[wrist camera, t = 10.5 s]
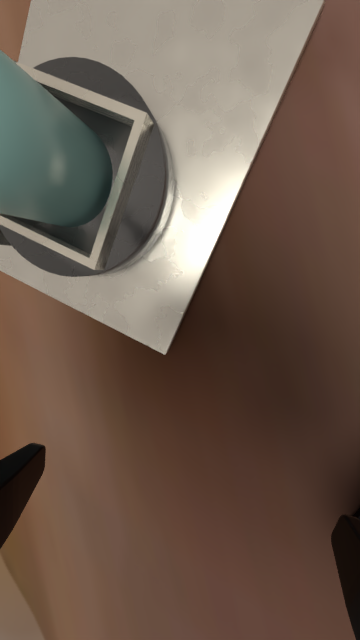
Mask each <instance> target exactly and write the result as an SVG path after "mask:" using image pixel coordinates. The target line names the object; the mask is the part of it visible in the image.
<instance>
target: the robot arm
mask: <svg viewBox="0 0 360 640" xmlns="http://www.w3.org/2000/svg"><path fill="white" fill-rule="evenodd" d="M45 451H46V449H45V446H44V445H41V444H36V443H30V444H28V445H26V446H25V447H23V448H21V449H19V450H17V451H16V452H14V453H12V454H10V455H8V456H7V457H5V458H3V459H1V460H0V549H1V547H2V546H3V544H4V542H5V541H6V539H7V538H8V536H9V535H10V533H11V531H12V530H13V528H14V526H15V524H16V523H17V521H18V519H19V517H20V515H21V513H22V511H23V510H24V508H25V506H26V504H27V502H28V500H29V498H30V496H31V495H32V493H33V491H34V489H35V487H36V485H37V483H38V481H39V480H40V478H41V476H42V474H43V471H44V467H45ZM331 542H332V547H333V552H334V556H335V560H336V565H337V569H338V573H339V578H340V582H341V587H342V591H343V595H344V600H345V604H346V608H347V611H348V615H349V618H350V621H351V625H352V628H353V631H354V634H355V638H356V640H360V509H359V510H358V511H357V512H356V514H355V515H354V516H349V515H341V516H340V517H339V520H338V522H337V524H336V526H335V528H334V530H333V532H332V535H331Z"/></svg>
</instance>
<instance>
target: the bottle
mask: <svg viewBox="0 0 360 640" xmlns="http://www.w3.org/2000/svg"><path fill="white" fill-rule="evenodd" d="M112 180H113V170H112V163H111V159H110V156H109V153H108V150H107V148H106V146H105V144H104V143H103V141H102V140H101V138H100V137H99V136H98V135H97V134H96V133H95V132H94V131H93V130H92V129H91V128H89V127H88V126H87V125H86V124H85V123H84V122H83V121H81V120H80V119H79V118H78V117H77V116H76V115H75V114H73V113H72V112H71V111H70V110H69V109H68V108H66V107H65V106H64V105H63V104H62V103H61V102H60V101H58V100H57V99H56V98H55V97H54V96H53V95H52V94H50V93H49V92H48V91H47V90H46V89H45V88H44V87H42V86H41V85H40V84H39V83H38V82H37V81H36V80H34V79H33V78H32V77H31V76H30V75H29V74H28V73H26V72H25V71H24V70H23V69H22V68H21V67H20V66H18V65H17V64H16V63H15V62H14V61H13V60H12V59H10V58H9V57H8V56H7V55H6V54H5V53H4V52H2V51H1V50H0V213H1V214H6V215H11V216H16V217H20V218H25V219H30V220H35V221H40V222H44V223H49V224H54V225H59V226H64V227H77V226H81V225H84V224H86V223H88V222H90V221H91V220H93V219H94V218H95V217H96V216H97V215H98V214H99V213H100V212H101V211H102V209H103V208H104V206H105V205H106V202H107V200H108V198H109V195H110V192H111V188H112Z"/></svg>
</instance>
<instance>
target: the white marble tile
mask: <svg viewBox="0 0 360 640" xmlns="http://www.w3.org/2000/svg"><path fill="white" fill-rule="evenodd" d="M325 1H326V0H31V4H30V8H29V13H28V18H27V23H26V27H25V32H24V37H23V42H22V46H21V51H20V56H19V61H18V62H16V61H14V62H15V63H16V64H17V65H18V66H20V67H21V68H22V69H23V70H24V71H25V72H26V73H28V74H29V75H30V76H31V77H32V78H33V79H34V80H36V81H37V82H38V83H39V84H40V85H41V86H42V87H44V88H45V89H46V90H47V91H48V92H49V93H50V94H52V95H53V96H54V97H55V98H56V99H57V100H58V101H60V102H61V103H62V104H63V105H64V106H65V107H66V108H68V109H69V110H70V111H71V112H72V113H73V114H75V115H76V116H77V117H78V118H79V119H80V120H81V121H83V122H84V123H85V124H86V125H87V126H88V127H89V128H91V129H92V130H93V131H94V132H95V133H96V134H97V135H98V136H99V137H100V138H101V140H102V141H103V143H104V144H105V146H106V148H107V150H108V153H109V156H110V159H111V163H112V170H113V180H112V188H111V192H110V195H109V198H108V200H107V202H106V205H105V206H104V208H103V209H102V211H101V212H100V213H99V214H98V215H97V216H96V217H95V218H94V219H93V220H91V221H90V222H88V223H86V224H84V225H81V226H77V227H64V226H59V225H54V224H49V223H44V222H40V221H35V220H30V219H25V218H20V217H16V216H11V215H6V214H1V213H0V271H2V272H4V273H6V274H8V275H10V276H12V277H14V278H16V279H18V280H20V281H22V282H24V283H25V284H27V285H29V286H31V287H33V288H35V289H37V290H39V291H41V292H43V293H45V294H47V295H49V296H51V297H53V298H55V299H57V300H59V301H61V302H63V303H65V304H67V305H68V306H70V307H72V308H74V309H76V310H78V311H80V312H82V313H84V314H86V315H88V316H90V317H92V318H94V319H96V320H98V321H100V322H102V323H104V324H106V325H108V326H109V327H111V328H113V329H115V330H117V331H119V332H121V333H123V334H125V335H127V336H129V337H131V338H133V339H135V340H137V341H139V342H141V343H143V344H145V345H147V346H149V347H151V348H152V349H154V350H156V351H158V352H160V353H162V354H164V355H166V353H167V352H168V351H169V349H170V347H171V345H172V343H173V340H174V338H175V336H176V334H177V332H178V329H179V327H180V325H181V323H182V320H183V318H184V316H185V314H186V312H187V309H188V307H189V305H190V303H191V300H192V298H193V296H194V294H195V292H196V289H197V287H198V285H199V283H200V280H201V278H202V276H203V274H204V272H205V269H206V267H207V265H208V263H209V260H210V258H211V256H212V254H213V252H214V249H215V247H216V245H217V243H218V240H219V238H220V236H221V234H222V232H223V229H224V227H225V225H226V223H227V220H228V218H229V216H230V214H231V212H232V209H233V207H234V205H235V203H236V200H237V198H238V196H239V194H240V192H241V189H242V187H243V185H244V183H245V180H246V178H247V176H248V174H249V172H250V169H251V167H252V165H253V163H254V160H255V158H256V156H257V154H258V152H259V149H260V147H261V145H262V143H263V140H264V138H265V136H266V134H267V132H268V129H269V127H270V125H271V123H272V121H273V118H274V116H275V114H276V112H277V109H278V107H279V105H280V103H281V101H282V98H283V96H284V94H285V92H286V89H287V87H288V85H289V83H290V81H291V78H292V76H293V74H294V72H295V69H296V67H297V65H298V63H299V61H300V58H301V56H302V54H303V52H304V49H305V47H306V45H307V43H308V41H309V38H310V36H311V34H312V32H313V29H314V27H315V25H316V23H317V21H318V18H319V16H320V14H321V12H322V9H323V7H324V4H325Z"/></svg>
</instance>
